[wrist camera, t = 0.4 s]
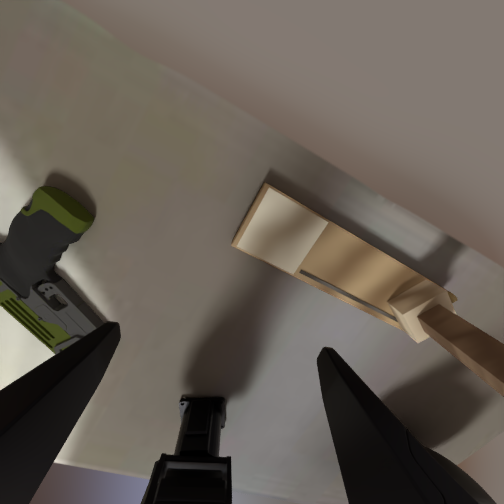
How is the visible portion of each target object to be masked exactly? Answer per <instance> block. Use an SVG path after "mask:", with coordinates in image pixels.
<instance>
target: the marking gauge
mask: <svg viewBox="0 0 504 504" xmlns="http://www.w3.org/2000/svg"><path fill="white" fill-rule="evenodd" d="M455 301H457V298H456V296H455V295H454V294H452V293H451V292H448V291H447V290H445V289H443V288H442V287H440V286H438V285H436V284H434V283H432V282H430V281H428V280H427V279H426V280H424V281H422V282H420V283H419V284H417V285H415V286H414V287H412V288H410V289H408V290H407V291H405V292H403V293H401V294H400V295H398V296H396V297H394V298H393V299H391V300H389V301H387V303H388V305H389V306H390V308H391V310H392V312H393V314H394V316H395V317H396V319H397V321H398V323H399V325H400V327H401V329H403V330H404V331H405V332H406V333H407V334H408V335H409V336H410V337H411V338H412V339H413V340H415V341H416V342H417V343H419V342H421V341H423V340H425V339H427V338H429V337H431V338H433V339H434V340H435V341H436V342H437V343H439V344H440V345H441V346H442V347H444V348H445V349H446V350H447V351H448V352H450V353H451V354H452V355H453V356H454V357H456V358H457V359H458V360H459V361H461V362H462V363H463V364H464V365H465V366H467V367H468V368H469V369H470V370H472V371H473V372H474V373H475V374H476V375H478V376H479V377H480V378H481V379H482V380H484V381H485V382H486V383H487V384H489V385H490V386H491V387H492V388H493V389H495V390H496V391H497V392H498V393H500V394H501V395H502V396H503V397H504V344H503V343H501V342H499V341H498V340H496V339H495V338H493V337H491V336H490V335H488V334H487V333H485V332H483V331H482V330H480V329H479V328H477V327H475V326H474V325H472V324H471V323H469V322H467V321H466V320H464V319H462V318H461V317H459V316H458V315H456V312H455V310H454V307H453V305H452V303H453V302H455Z"/></svg>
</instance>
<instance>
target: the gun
mask: <svg viewBox="0 0 504 504" xmlns="http://www.w3.org/2000/svg"><path fill="white" fill-rule="evenodd" d="M93 221H94V217H93V216H92V215H91V214H90V213H89V212H88V211H87V210H86V209H85V208H84V207H83V206H82V205H81V204H80V203H79V202H77V201H76V200H75V199H73V198H72V197H70V196H69V195H68V194H66V193H64V192H63V191H61V190H59V189H56V188H53V187H49V186H43V187H39V188H38V189H37V190H36V191H35V192H34V194H33V196H32V200H31V202H30V204H29V205H28V206H25V207H23V208H22V209H21V211H20V212H19V213H18V214H17V215H16V216H15V217H14V219H13V221H12V223H11V225H10V228H9V233H8V237H7V239H6V241H5V242H4V243H3V244H2V243H0V306H2V307H3V308H4V309H5V310H6V311H7V312H8V313H9V314H10V315H12V316H13V317H14V318H15V319H16V320H17V321H18V322H19V323H21V324H22V325H23V326H24V327H25V328H26V329H27V330H29V331H30V332H31V333H32V334H33V335H34V336H35V337H36V338H38V339H39V340H40V341H41V342H42V343H43V344H45V345H46V346H47V347H48V348H49V349H50V350H51V351H52V352H53V353H55V355H56V354H57V353H59V352H61V351H62V350H64V349H65V348H67V347H68V346H70V345H71V344H73V343H75V342H76V341H78V340H79V339H81V338H82V337H84V336H85V335H87V334H88V333H90V332H92V331H93V330H95V329H96V328H98V327H99V326H101V325H102V324H104V322H103V321H102V320H101V319H100V318H99V317H98V316H97V315H96V314H95V313H94V311H93V310H92V309H91V308H90V307H89V306H88V305H87V304H86V303H85V302H84V301H83V300H82V299H81V298H80V297H79V296H78V295H77V293H76V292H75V291H74V290H73V289H72V288H71V287H70V286H69V285H68V284H67V283H66V282H65V281H64V280H63V279H62V278H61V277H60V276H58V275H57V274H56V273H55V271H54V265H55V263H56V262H58V261H59V260H60V258H61V254H62V253H63V252H65V251H66V250H67V247H68V245H69V244H71V243H74V242H77V241H78V240H79V239H80V238H81V236H82V235H83V233H84V232H85V231H87V230H88V229H89V228H90V226H91V225H92V223H93ZM42 279H43V280H47V281H48V282H45V283H43V284H42ZM54 294H59V295H60V296H61V297H62V298H63V299H64V300H65V301H66V302H67V303H68V304H67V305H64V304H61V303H60V302H59V301H58V300H57V299H56V298H55V297H54Z"/></svg>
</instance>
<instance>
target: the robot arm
mask: <svg viewBox="0 0 504 504" xmlns="http://www.w3.org/2000/svg"><path fill="white" fill-rule="evenodd" d="M120 338H121V334H120V326H119V323H118V322H111V321H108V322H106V323H104V324H102V325H101V326H99V327H98V328H96V329H95V330H93V331H92V332H90V333H88V334H87V335H85V336H84V337H82V338H81V339H79V340H78V341H76V342H75V343H73V344H71V345H70V346H68V347H67V348H65V349H64V350H62V351H61V352H59V353H57V354H56V355H54V356H53V357H51V358H50V359H48V360H47V361H45V362H43V363H42V364H40V365H39V366H37V367H36V368H34V369H33V370H31V371H30V372H28V373H26V374H25V375H23V376H22V377H20V378H19V379H17V380H16V381H14V382H12V383H11V384H9V385H8V386H6V387H5V388H3V389H2V390H0V504H29V503H30V501H31V499H32V498H33V496H34V494H35V493H36V491H37V489H38V488H39V486H40V484H41V482H42V481H43V479H44V477H45V475H46V474H47V472H48V471H49V469H50V467H51V465H52V463H53V462H54V460H55V459H56V457H57V455H58V453H59V452H60V450H61V448H62V447H63V445H64V443H65V442H66V440H67V438H68V436H69V435H70V433H71V431H72V430H73V428H74V426H75V425H76V423H77V421H78V419H79V418H80V416H81V414H82V413H83V411H84V409H85V407H86V406H87V404H88V402H89V401H90V399H91V397H92V396H93V394H94V392H95V390H96V389H97V387H98V385H99V383H100V382H101V380H102V378H103V376H104V374H105V372H106V369H107V367H108V365H109V363H110V361H111V359H112V357H113V354H114V352H115V350H116V348H117V346H118V344H119V341H120ZM317 366H318V373H319V379H320V386H321V392H322V398H323V402H324V407H325V411H326V414H327V418H328V422H329V426H330V430H331V434H332V438H333V442H334V446H335V450H336V454H337V458H338V462H339V466H340V470H341V474H342V478H343V482H344V486H345V490H346V494H347V498H348V502H349V504H479V503H478V502H477V501H476V500H475V499H474V498H473V497H472V496H471V495H470V494H469V493H468V492H467V491H466V490H465V489H464V488H463V487H462V486H461V485H460V484H459V483H458V482H457V481H456V480H455V479H454V478H453V477H452V476H451V475H450V474H449V473H448V472H447V471H446V470H445V469H444V468H443V467H442V466H441V465H440V464H439V463H438V462H437V461H436V460H435V459H434V458H433V457H432V456H431V455H430V454H429V452H428V451H427V450H426V449H425V448H424V447H423V446H422V445H421V444H420V443H419V442H418V441H417V440H416V439H415V437H414V436H413V435H412V434H411V433H410V432H409V431H408V430H407V429H405V427H404V425H403V424H402V423H401V422H400V421H399V420H398V419H397V418H396V417H395V416H394V415H393V413H392V412H391V411H390V410H389V409H388V408H387V407H386V406H385V405H384V404H383V402H382V401H381V400H380V399H379V398H378V397H377V396H376V395H375V394H374V393H373V391H372V390H371V389H370V388H369V387H368V386H367V385H366V384H365V383H364V382H363V381H362V379H361V378H360V377H359V376H358V375H357V374H356V373H355V372H354V371H353V370H352V368H351V367H350V366H349V365H348V364H347V363H346V362H345V361H344V360H343V359H342V357H341V356H340V355H339V354H338V353H337V352H336V351H335V350H334V349H333V348H330V347H324V348H323V349H322V350H321V352H320V354H319V356H318V358H317ZM179 408H180V415H181V427H180V431H179V435H178V440H177V444H176V448H175V453H174V455H166V454H165V453H162V454H161V457H160V460H158V461H156V462H155V465H154V468H153V471H152V475H151V478H150V481H149V484H148V486H147V489H146V492H145V494H144V496H143V499H142V502H141V504H232V480H231V456H227V457H219V447H220V433H221V429H223V428H224V427H225V404H224V398H193V399H181V400H180V402H179Z"/></svg>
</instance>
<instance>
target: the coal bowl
mask: <svg viewBox="0 0 504 504" xmlns="http://www.w3.org/2000/svg"><path fill="white" fill-rule="evenodd" d="M423 447H424V446H423ZM424 448H425V449H426V450H427V451H428V452H429V454H430V455H431V456H432V457H433V458H434V459H435V460H436V461H437V462H438V463H439V464H440V465H441V466H442V467H443V468H444V469H445V470H446V471H447V472H448V473H449V474H450V475H451V476H452V477H453V478H454V479H455V480H456V481H457V482H458V483H459V484H460V485H461V486H462V487H463V488H464V489H465V490H466V491H467V492H468V493H469V494H470V495H471V496H472V497H473V498H474V499H475V500H476V501H477V502H478V503H479V504H496V503H495V501H494V500H493V499H492V498H491V497H490V496H489V495H488V494H487V493H486V492H485V490H484V489H483V488H482V487H481V486H480V485H479V484H478V483H476V481H474V480H473V479H472V478H471V477H470V476H469V475H468V474H467V473H465V472H464V471H463V470H462V469H460V468H459V467H458V466H457V465H455V464H454V463H453V462H451V461H450V460H448V459H447V458H445V457H444V456H442V455H440V454H439V453H437V452H435V451H433V450H431V449H429V448H427V447H424Z"/></svg>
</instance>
